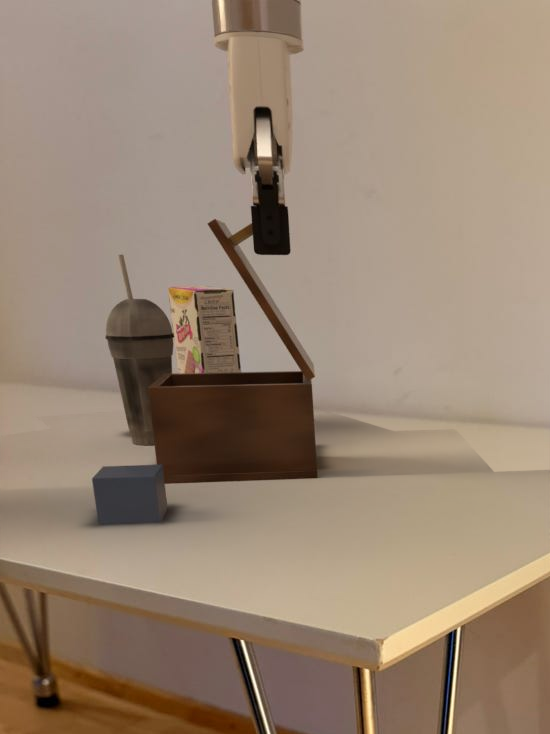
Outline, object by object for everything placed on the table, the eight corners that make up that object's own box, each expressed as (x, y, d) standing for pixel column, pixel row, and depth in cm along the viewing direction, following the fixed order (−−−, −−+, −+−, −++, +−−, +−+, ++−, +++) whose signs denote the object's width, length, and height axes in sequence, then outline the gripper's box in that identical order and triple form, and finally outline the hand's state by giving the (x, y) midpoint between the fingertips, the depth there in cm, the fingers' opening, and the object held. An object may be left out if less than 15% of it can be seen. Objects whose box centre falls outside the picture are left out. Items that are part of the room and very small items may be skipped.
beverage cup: (199, 439, 114) (179, 254, 106) (148, 449, 108) (123, 254, 101) (157, 434, 117) (135, 254, 110) (105, 443, 112) (79, 254, 104)
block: (100, 537, 74) (91, 478, 73) (110, 522, 78) (102, 466, 77) (162, 534, 75) (154, 475, 73) (169, 520, 79) (162, 464, 77)
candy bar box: (181, 422, 126) (165, 286, 120) (219, 418, 128) (206, 285, 123) (208, 434, 117) (193, 288, 111) (248, 430, 120) (235, 287, 114)
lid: (207, 223, 84) (256, 192, 84) (217, 227, 95) (261, 199, 95) (307, 381, 90) (353, 352, 90) (307, 368, 101) (348, 342, 101)
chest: (159, 484, 91) (147, 387, 88) (173, 460, 102) (163, 373, 99) (317, 478, 94) (311, 383, 90) (315, 456, 104) (310, 370, 101)
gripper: (220, 46, 92) (236, 255, 99) (205, 2, 76) (225, 254, 83) (301, 50, 93) (312, 255, 100) (303, 7, 78) (315, 254, 84)
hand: (273, 252), depth 91 cm, fingers closed on lid, 5 cm apart
